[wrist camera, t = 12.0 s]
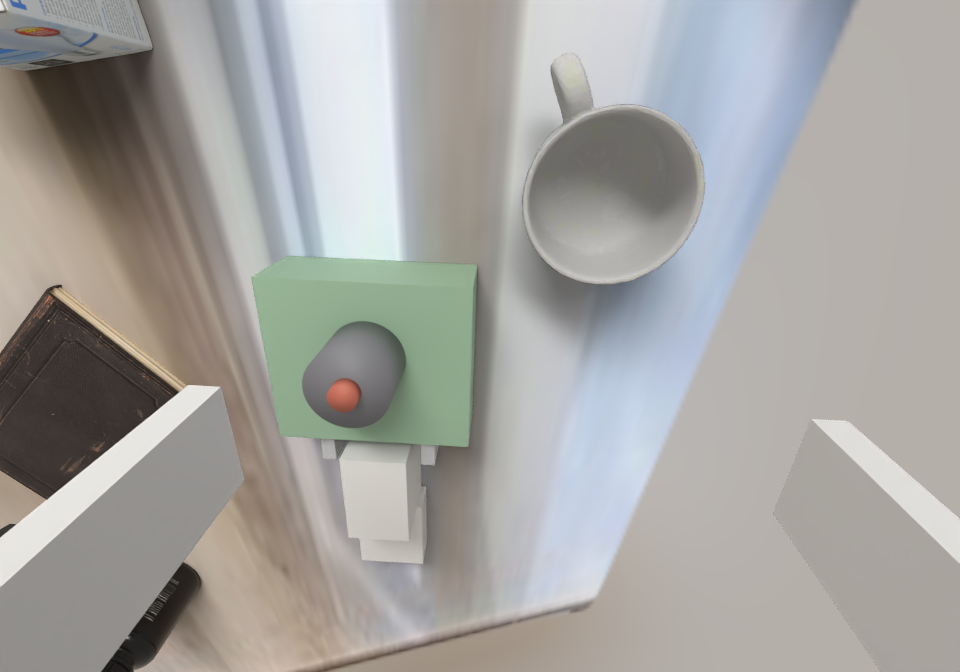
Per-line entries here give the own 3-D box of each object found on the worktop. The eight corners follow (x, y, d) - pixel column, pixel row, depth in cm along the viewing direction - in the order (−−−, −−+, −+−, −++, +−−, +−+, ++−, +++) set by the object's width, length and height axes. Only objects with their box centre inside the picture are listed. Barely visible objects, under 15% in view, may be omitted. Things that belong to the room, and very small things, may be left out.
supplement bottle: (134, 566, 55) (43, 674, 44) (174, 549, 54) (90, 656, 43) (175, 600, 58) (98, 710, 47) (214, 584, 56) (144, 695, 45)
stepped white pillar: (427, 540, 51) (416, 599, 45) (369, 537, 51) (350, 594, 45) (424, 415, 44) (411, 464, 38) (357, 412, 44) (333, 459, 38)
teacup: (666, 240, 36) (708, 268, 29) (532, 268, 38) (539, 302, 30) (654, 39, 31) (701, 11, 23) (497, 81, 32) (495, 67, 25)
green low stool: (477, 264, 38) (466, 320, 27) (471, 432, 45) (461, 530, 34) (287, 255, 38) (200, 306, 27) (311, 423, 45) (250, 517, 34)
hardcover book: (213, 398, 45) (199, 411, 43) (100, 507, 52) (83, 523, 50) (64, 281, 41) (41, 289, 38) (-37, 418, 48) (-62, 431, 46)
